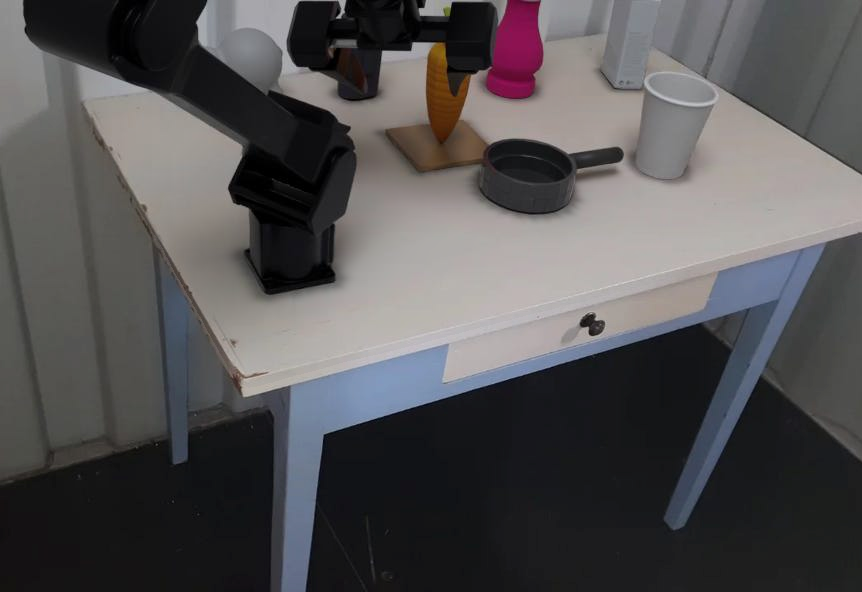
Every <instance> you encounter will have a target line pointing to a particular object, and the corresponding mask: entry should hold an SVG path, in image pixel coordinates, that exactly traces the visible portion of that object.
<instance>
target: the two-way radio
mask: <svg viewBox="0 0 862 592" xmlns="http://www.w3.org/2000/svg"><path fill="white" fill-rule="evenodd" d="M340 18H347V17H346V14H345V12H343V13H342V14H341V16H340ZM347 19H348V21H354V18H347ZM354 51H355V53H356V55H357V58H358V60H359V63H360V65H361V67H362V70H363V72H364V74H365V78H366V82H367V86H368V88H367V93H366V95H362V94H360V93H358V92H357V91H355V90H353V89H351V88H350V87H348V86H346V85H344V84H342V83H341V82H339V81H337V93H338V95H339V96H341V97H342V98H345V99H348V100H357V99H365V98H369V97H374V96H376V95H377V94H378V92H379V85H380V84H379V83H380V75H381V68H382V67H381V66H382V59H383V51H359V50H358V48H354Z"/></svg>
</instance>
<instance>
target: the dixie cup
mask: <svg viewBox="0 0 862 592" xmlns="http://www.w3.org/2000/svg"><path fill="white" fill-rule="evenodd" d="M643 86H644V90H643V91H644V92H643V98H642V99H643V100H642V101H643V102H642V107H641V116H640V122H639V129H638V130H639V131H638V137H637V138H638V139H637V147H636V154H635V163H634V165H635V167H636V168H637V169H638V171H640V172H641V173H642V174H645V175H647V176H649V177H651V178H655V179H660V180H675V179H678V178H680V177H682V176H683V174H684V172H685V170H686V167H687V165H688V163H689V161H690V159H691V157H692V155H693V153H694V150H695V148H696V145H697V143H698V141H699V139H700V137H701V135H702V132H703V130H704V128H705V125H706V123H707V122H708V119H709V116H711V115H710V114H711V112H712V110H713V108H714V106H715V104H716V103H717V102H719V99H720V95H719V91H717V89H716V88H715V87H714V86H713V85H712V84H711V83H709V82H708V81H706V80H704V79H702V78H700V77H697V76H694V75H691V74H688V73H683V72H679V71H656V72H653V73H650V74H648V75H647V76H646V77H644V80H643Z"/></svg>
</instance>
